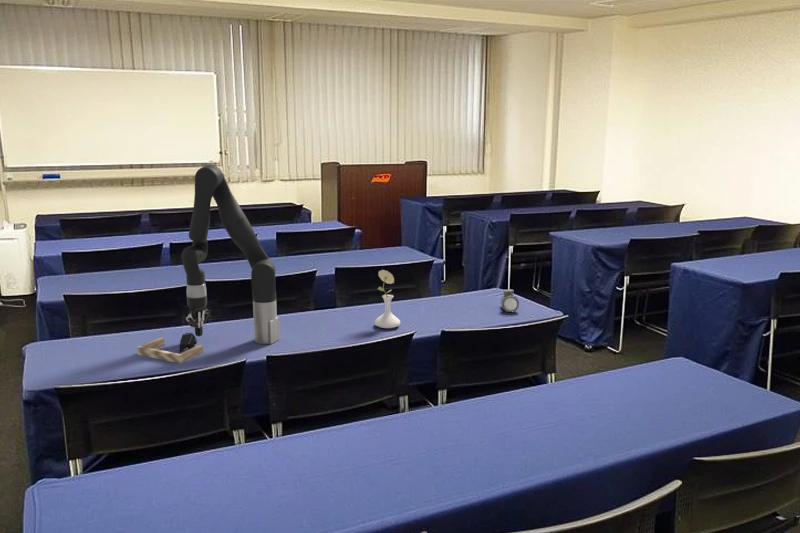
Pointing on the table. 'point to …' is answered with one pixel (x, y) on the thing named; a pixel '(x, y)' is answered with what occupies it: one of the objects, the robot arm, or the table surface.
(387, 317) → the flower in vase
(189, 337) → the power plug
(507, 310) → the pipe fitting
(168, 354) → the bracket
